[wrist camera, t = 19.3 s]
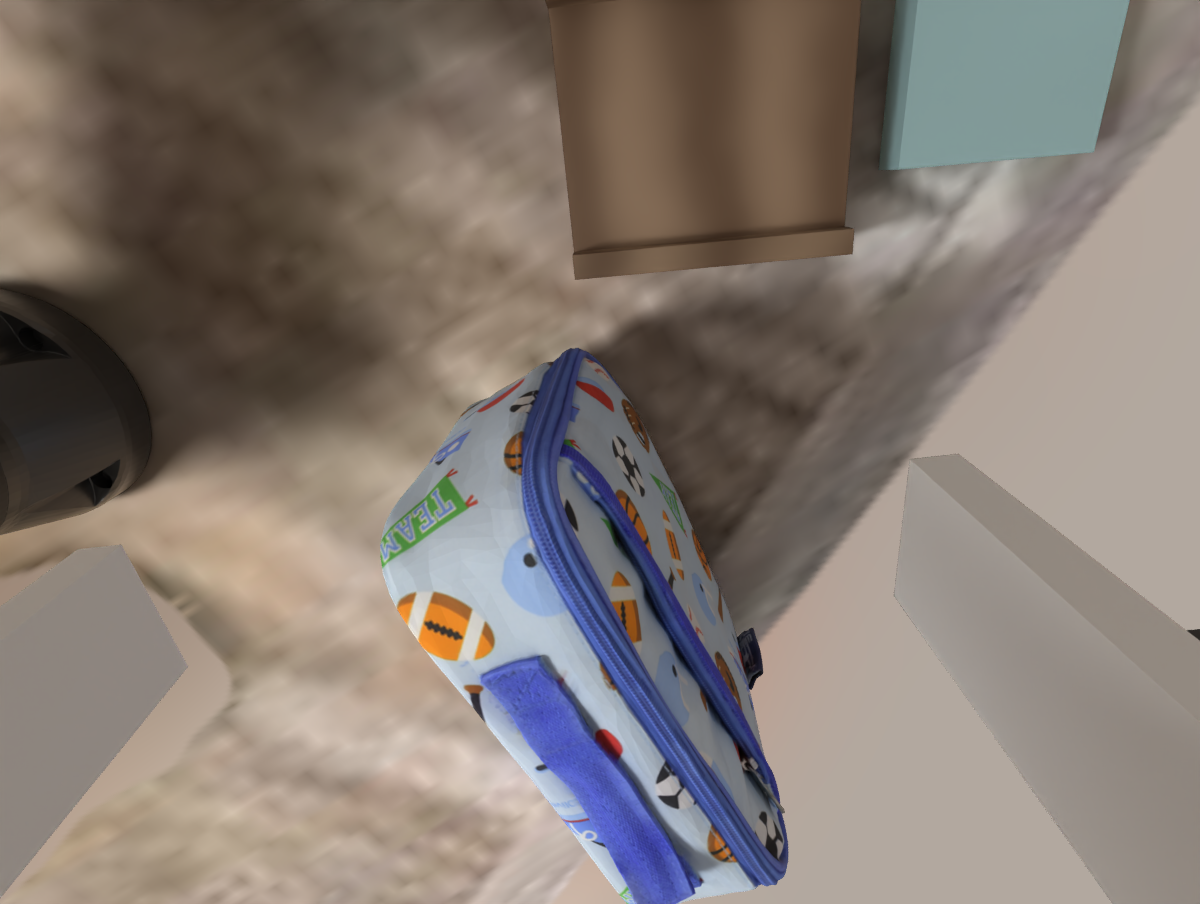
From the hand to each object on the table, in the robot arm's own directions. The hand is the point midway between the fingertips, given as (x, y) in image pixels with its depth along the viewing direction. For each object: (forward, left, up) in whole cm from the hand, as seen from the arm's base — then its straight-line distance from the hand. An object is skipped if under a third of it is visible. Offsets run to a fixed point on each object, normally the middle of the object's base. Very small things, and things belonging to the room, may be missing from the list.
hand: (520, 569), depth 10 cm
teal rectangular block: (+22, +12, -29) cm, 38 cm away
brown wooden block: (+7, +8, -28) cm, 30 cm away
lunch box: (+1, -16, -29) cm, 33 cm away
